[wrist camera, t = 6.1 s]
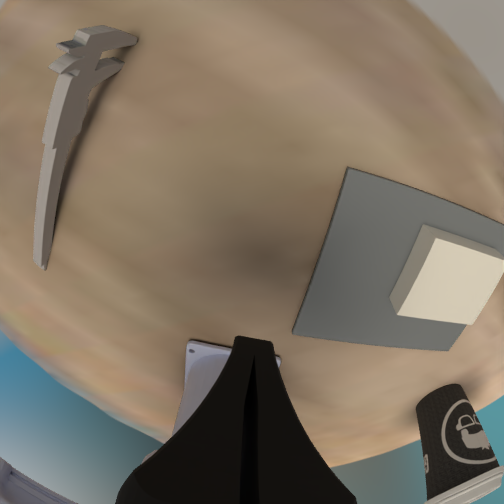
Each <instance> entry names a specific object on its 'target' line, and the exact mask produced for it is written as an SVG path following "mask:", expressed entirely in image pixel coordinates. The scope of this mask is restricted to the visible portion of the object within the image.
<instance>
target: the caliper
mask: <svg viewBox="0 0 504 504" xmlns="http://www.w3.org/2000/svg"><path fill="white" fill-rule="evenodd" d="M136 42H137V37H135V36H133V35H130V34H128V33H126V32H124V31H121V30H118V29H115V28H111V27H108V26H104V25H100V26H94V27H88V28H83V29H78V30H77V31H76V33H75V35H74V38H73V40H70V41H65V42H61V43H56V47H58V48H59V49H60V50H63V51H65V52H67V53H66V54H64V55H62V56H61V57H59V58H58V59H56V60H55V61H54V62H53V63H52V64H50V66H49V67H48V68H49V69H51V70H53V71H55V72H57V73H59V76H58V78H57V82H56V85H55V88H54V92H53V96H52V99H51V103H50V107H49V111H48V115H47V119H46V124H45V129H44V133H43V139H42V142H43V143H44V144H45V149H44V155H43V160H42V166H41V172H40V179H39V186H38V194H37V203H36V214H35V227H34V253H33V261H34V262H35V263H36V264H37V265H38V266H39V267H41V268H42V269H43V270H46V269H47V260H48V259H49V255H50V250H51V245H52V236H53V228H54V221H55V214H56V207H57V201H58V196H59V191H60V185H61V181H62V176H63V171H64V167H65V163H66V159H67V155H68V151H69V147H70V143H71V140H72V138H73V137H75V136H76V135H78V134H79V133H80V131H81V129H82V122H83V119H84V117H85V115H86V113H87V107H88V96H89V93H90V91H91V89H92V88H93V87H95V86H96V85H98V84H99V83H101V82H102V81H104V80H105V79H107V78H108V77H110V76H112V75H113V74H115V73H116V72H118V71H120V70H121V68H122V67H123V65H124V62H122V61H120V60H118V59H116V58H114V57H112V58H104V59H100V57H101V54H102V52H103V51H107V50H112V49H116V48H121V47H125V46H131V45H136ZM99 59H100V60H99Z"/></svg>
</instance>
